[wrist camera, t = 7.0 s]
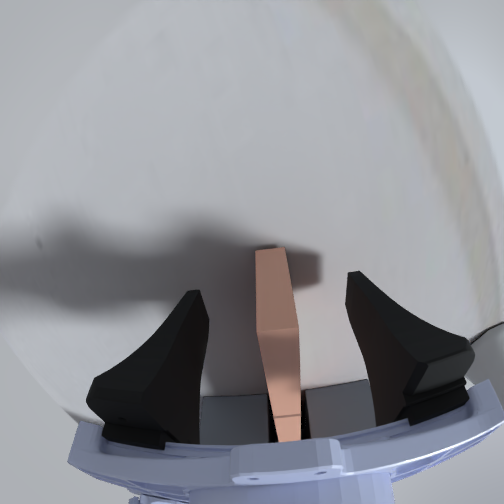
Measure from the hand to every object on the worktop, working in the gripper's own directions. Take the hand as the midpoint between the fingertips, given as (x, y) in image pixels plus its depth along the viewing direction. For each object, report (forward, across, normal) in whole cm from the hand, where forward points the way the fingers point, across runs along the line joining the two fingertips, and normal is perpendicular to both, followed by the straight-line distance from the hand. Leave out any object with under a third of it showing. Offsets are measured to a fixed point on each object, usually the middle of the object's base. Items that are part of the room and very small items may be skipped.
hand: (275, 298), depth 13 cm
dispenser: (+2, 0, +17) cm, 17 cm away
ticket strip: (+1, 0, +6) cm, 6 cm away
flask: (+2, -21, +13) cm, 25 cm away
